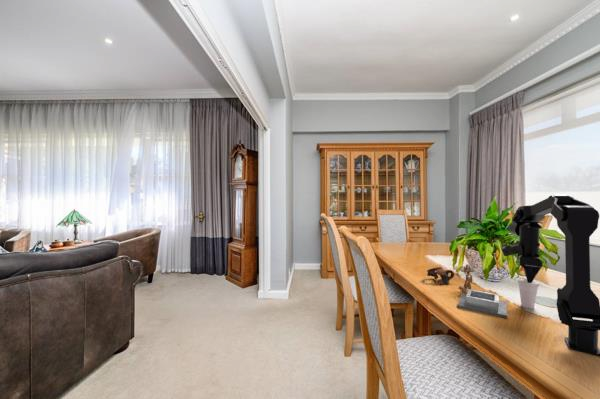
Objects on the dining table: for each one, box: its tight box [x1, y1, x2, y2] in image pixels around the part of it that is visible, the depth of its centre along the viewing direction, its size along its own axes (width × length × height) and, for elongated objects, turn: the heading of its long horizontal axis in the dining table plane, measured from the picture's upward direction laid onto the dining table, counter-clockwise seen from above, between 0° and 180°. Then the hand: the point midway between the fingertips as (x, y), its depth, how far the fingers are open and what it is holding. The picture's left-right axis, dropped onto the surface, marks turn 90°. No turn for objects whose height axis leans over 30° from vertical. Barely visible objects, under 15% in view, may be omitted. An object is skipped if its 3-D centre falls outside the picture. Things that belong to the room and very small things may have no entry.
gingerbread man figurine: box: [458, 263, 473, 294], centre depth 118 cm, size 9×4×12 cm, turn 168°
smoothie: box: [517, 278, 540, 310], centre depth 102 cm, size 6×6×14 cm
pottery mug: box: [426, 266, 455, 286], centre depth 132 cm, size 12×10×8 cm
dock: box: [457, 288, 508, 319], centre depth 103 cm, size 15×15×4 cm
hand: (528, 279), depth 102 cm, fingers open, 9 cm apart
